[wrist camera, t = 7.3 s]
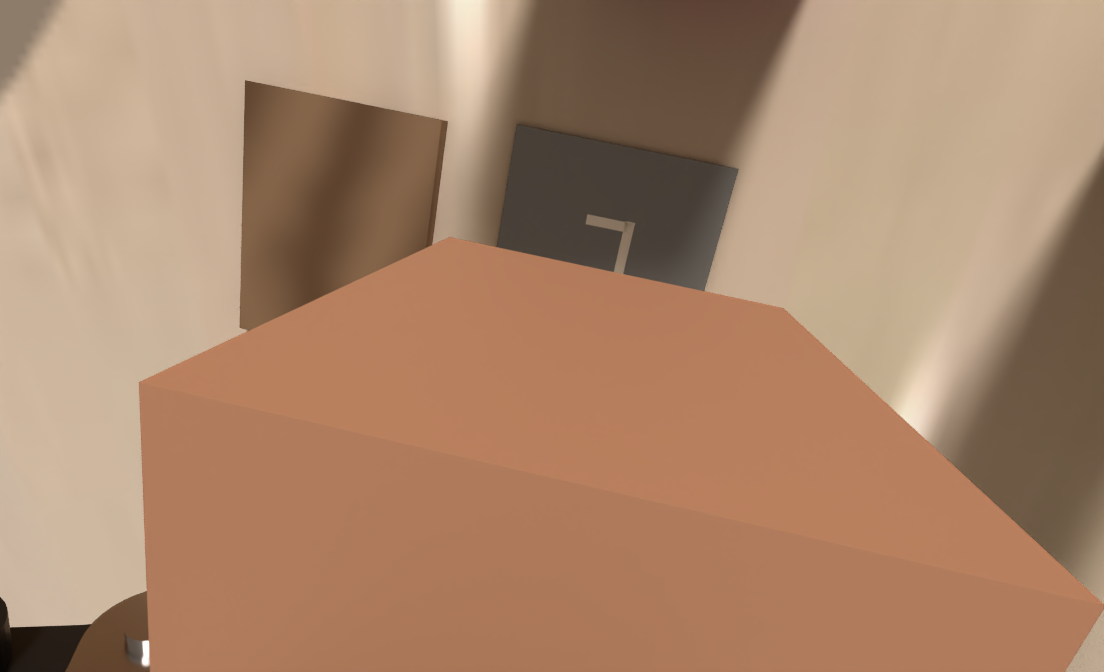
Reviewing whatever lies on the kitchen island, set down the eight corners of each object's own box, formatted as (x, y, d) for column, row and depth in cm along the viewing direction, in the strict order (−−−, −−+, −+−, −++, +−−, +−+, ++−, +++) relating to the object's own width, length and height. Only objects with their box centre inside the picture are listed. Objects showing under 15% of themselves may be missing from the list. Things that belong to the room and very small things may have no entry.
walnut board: (447, 121, 29) (441, 120, 28) (417, 360, 33) (411, 366, 32) (257, 82, 29) (245, 80, 28) (250, 323, 33) (239, 327, 32)
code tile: (737, 168, 28) (738, 168, 28) (665, 424, 32) (666, 425, 32) (517, 124, 29) (516, 124, 28) (475, 381, 33) (474, 382, 33)
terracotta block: (783, 308, 10) (1104, 606, 3) (656, 691, 13) (694, 1266, 6) (449, 237, 10) (139, 381, 4) (396, 626, 13) (165, 1110, 6)
